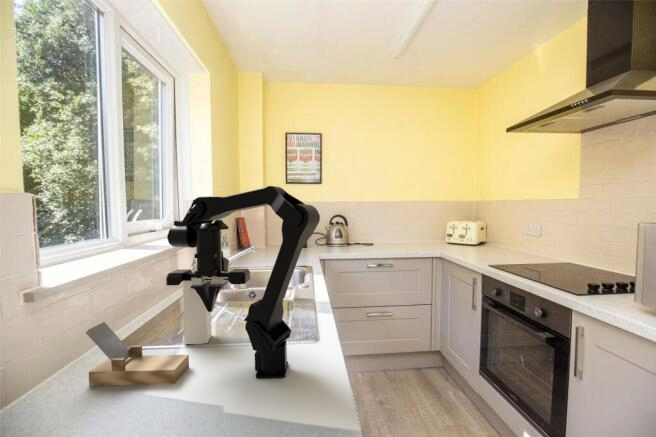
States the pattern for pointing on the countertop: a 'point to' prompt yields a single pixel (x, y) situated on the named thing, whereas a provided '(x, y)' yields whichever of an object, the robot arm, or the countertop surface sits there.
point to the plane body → (139, 369)
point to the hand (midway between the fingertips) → (210, 311)
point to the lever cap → (108, 342)
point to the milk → (195, 316)
